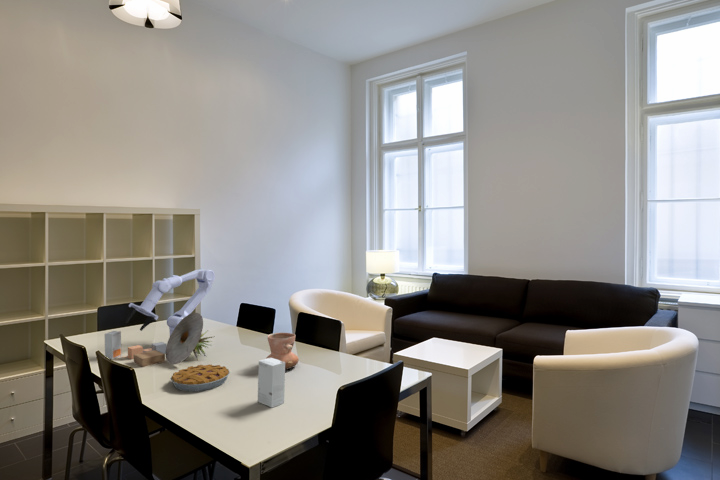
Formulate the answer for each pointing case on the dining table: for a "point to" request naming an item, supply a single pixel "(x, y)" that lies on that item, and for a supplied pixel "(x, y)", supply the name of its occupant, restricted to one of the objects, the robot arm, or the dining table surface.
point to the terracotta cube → (134, 351)
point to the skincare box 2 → (271, 382)
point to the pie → (200, 377)
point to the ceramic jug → (283, 348)
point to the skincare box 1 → (113, 344)
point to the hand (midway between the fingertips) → (133, 326)
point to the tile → (147, 349)
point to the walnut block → (149, 358)
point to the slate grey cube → (159, 347)
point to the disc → (186, 339)
